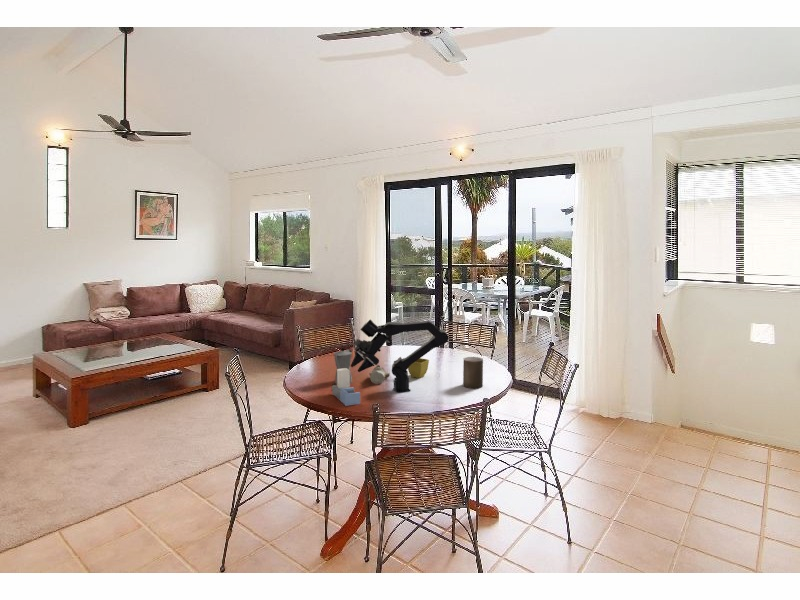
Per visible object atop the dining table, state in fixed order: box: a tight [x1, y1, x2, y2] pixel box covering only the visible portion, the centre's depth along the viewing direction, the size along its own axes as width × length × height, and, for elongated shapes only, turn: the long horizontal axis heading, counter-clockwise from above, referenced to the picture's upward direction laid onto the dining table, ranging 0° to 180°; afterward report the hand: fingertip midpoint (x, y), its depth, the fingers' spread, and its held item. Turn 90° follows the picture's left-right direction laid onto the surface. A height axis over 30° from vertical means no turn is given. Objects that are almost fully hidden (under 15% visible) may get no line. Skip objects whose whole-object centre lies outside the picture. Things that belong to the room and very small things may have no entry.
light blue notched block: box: [339, 386, 361, 407], centre depth 219 cm, size 7×9×6 cm
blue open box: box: [331, 384, 355, 401], centre depth 227 cm, size 7×11×4 cm, turn 26°
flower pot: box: [407, 357, 430, 379], centre depth 258 cm, size 9×9×9 cm
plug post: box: [336, 368, 351, 390], centre depth 227 cm, size 4×4×12 cm
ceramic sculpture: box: [369, 364, 390, 385], centre depth 251 cm, size 11×9×15 cm
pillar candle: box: [462, 356, 484, 389], centre depth 242 cm, size 10×10×15 cm
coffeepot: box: [333, 347, 353, 385], centre depth 249 cm, size 15×9×18 cm, turn 159°
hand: (354, 369), depth 229 cm, fingers open, 9 cm apart
